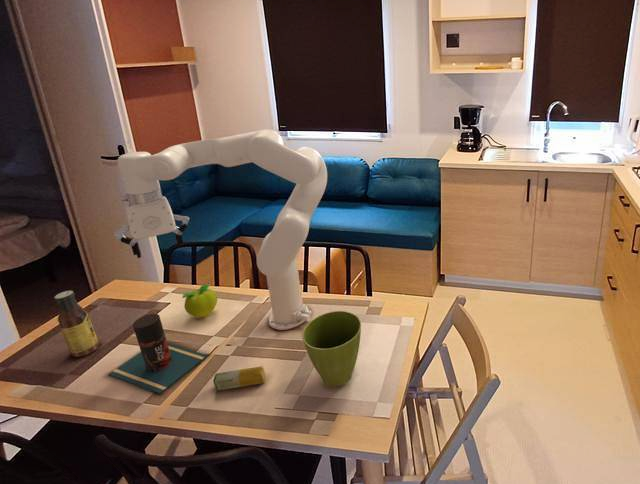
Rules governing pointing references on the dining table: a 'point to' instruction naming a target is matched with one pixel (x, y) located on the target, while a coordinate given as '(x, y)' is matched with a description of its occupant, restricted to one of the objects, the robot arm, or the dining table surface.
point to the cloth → (164, 378)
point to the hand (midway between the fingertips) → (160, 251)
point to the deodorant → (152, 342)
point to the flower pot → (333, 345)
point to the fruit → (200, 301)
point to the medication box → (239, 378)
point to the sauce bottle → (75, 325)
